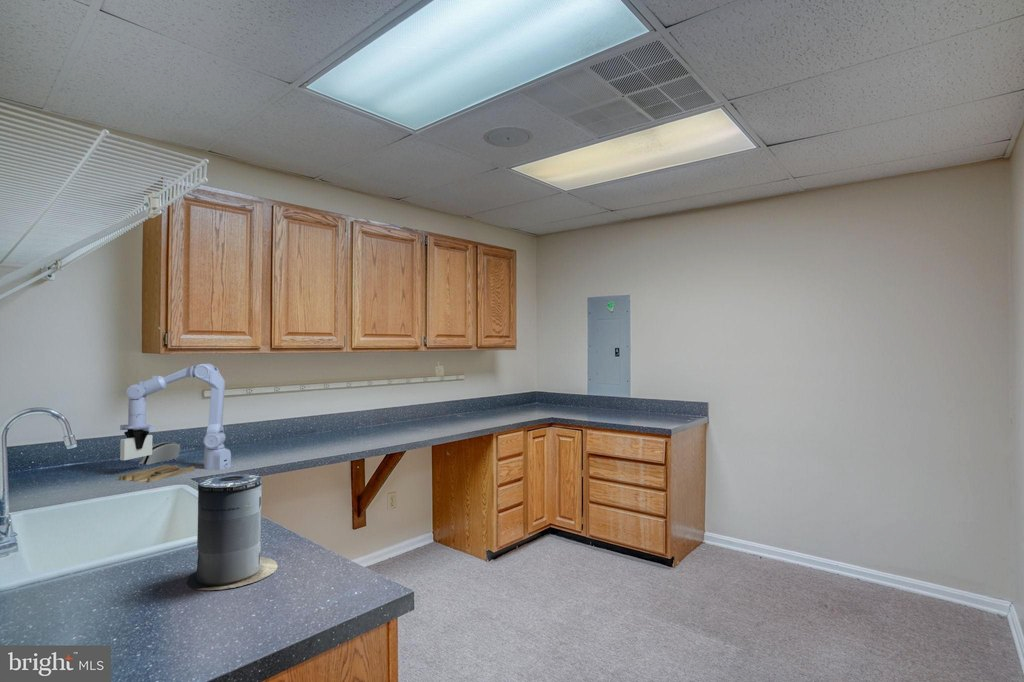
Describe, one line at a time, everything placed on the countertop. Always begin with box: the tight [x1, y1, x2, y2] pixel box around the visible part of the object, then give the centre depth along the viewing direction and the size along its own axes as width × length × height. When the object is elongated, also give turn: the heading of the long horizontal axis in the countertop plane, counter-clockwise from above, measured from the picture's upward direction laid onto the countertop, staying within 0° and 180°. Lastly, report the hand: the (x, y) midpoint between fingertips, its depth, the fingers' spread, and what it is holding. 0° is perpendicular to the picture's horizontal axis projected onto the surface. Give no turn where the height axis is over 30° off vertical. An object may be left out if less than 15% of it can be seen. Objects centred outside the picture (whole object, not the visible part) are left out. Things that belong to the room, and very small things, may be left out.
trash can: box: [186, 474, 278, 591], centre depth 115 cm, size 17×18×21 cm
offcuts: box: [151, 467, 180, 477], centre depth 202 cm, size 4×10×2 cm, turn 167°
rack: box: [118, 464, 195, 483], centre depth 203 cm, size 14×20×3 cm
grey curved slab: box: [137, 441, 181, 466], centre depth 230 cm, size 17×5×10 cm, turn 171°
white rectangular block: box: [119, 434, 154, 461], centre depth 208 cm, size 2×12×8 cm, turn 166°
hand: (136, 448), depth 208 cm, fingers closed on white rectangular block, 2 cm apart
